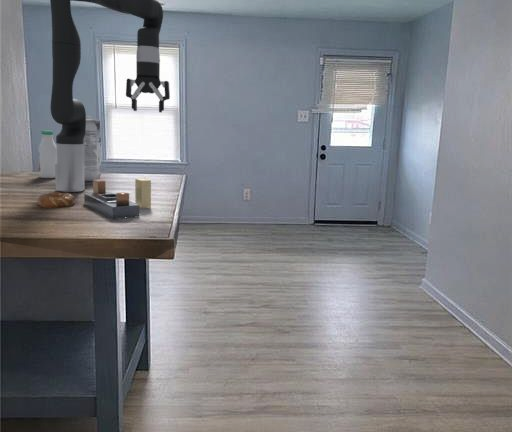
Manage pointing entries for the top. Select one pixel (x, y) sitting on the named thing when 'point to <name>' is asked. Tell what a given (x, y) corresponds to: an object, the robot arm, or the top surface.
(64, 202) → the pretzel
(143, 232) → the top surface
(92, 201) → the plane body
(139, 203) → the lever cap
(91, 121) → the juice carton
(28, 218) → the top surface
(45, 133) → the milk bottle
